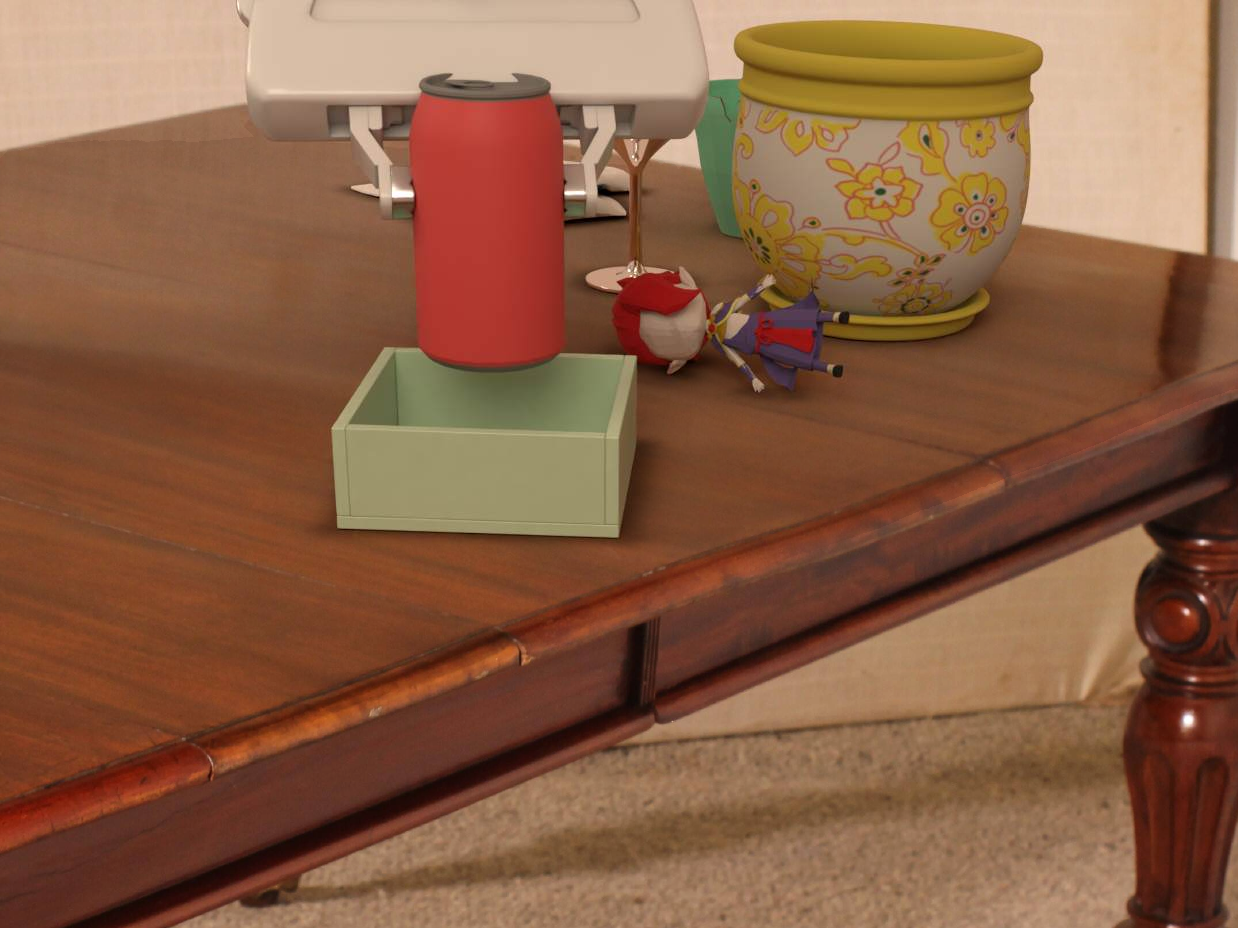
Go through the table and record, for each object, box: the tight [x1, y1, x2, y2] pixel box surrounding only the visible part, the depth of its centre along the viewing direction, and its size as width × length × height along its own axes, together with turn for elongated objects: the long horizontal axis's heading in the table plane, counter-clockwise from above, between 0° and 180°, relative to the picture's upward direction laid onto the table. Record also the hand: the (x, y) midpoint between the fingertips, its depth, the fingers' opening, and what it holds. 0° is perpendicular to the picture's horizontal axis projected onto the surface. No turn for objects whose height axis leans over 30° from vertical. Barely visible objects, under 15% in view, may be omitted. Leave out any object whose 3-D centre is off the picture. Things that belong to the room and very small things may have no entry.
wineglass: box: [585, 139, 680, 294], centre depth 118 cm, size 8×8×18 cm
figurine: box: [611, 265, 850, 393], centre depth 102 cm, size 6×8×15 cm
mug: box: [694, 78, 743, 239], centre depth 134 cm, size 15×10×10 cm
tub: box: [330, 346, 638, 539], centre depth 86 cm, size 12×12×5 cm
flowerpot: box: [732, 19, 1044, 342], centre depth 113 cm, size 18×18×16 cm
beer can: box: [408, 73, 566, 373], centre depth 82 cm, size 7×7×12 cm
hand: (490, 211), depth 81 cm, fingers closed on beer can, 6 cm apart
